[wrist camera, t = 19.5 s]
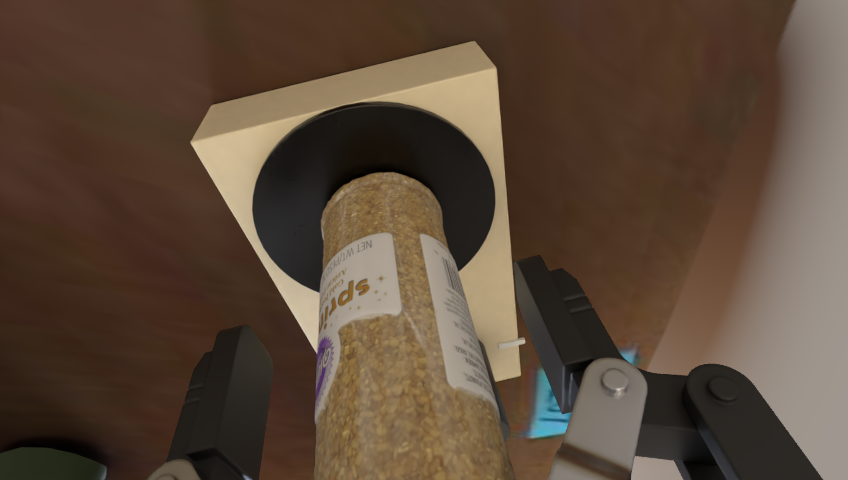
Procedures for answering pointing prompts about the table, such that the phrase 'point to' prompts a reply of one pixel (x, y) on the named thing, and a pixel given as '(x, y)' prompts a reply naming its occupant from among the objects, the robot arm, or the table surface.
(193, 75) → the table surface
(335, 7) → the table surface
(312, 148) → the burner
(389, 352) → the sprinkles bottle
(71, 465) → the character mug
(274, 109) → the hob
